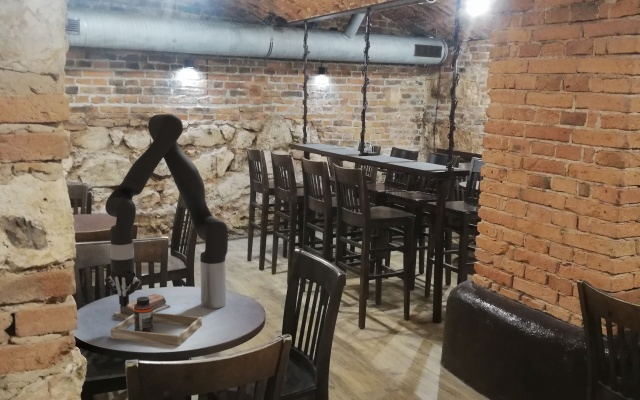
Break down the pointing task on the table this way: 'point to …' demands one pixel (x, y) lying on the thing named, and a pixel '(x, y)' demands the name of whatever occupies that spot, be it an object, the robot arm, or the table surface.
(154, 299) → the packaged product
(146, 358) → the table surface
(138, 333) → the wooden frame
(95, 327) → the table surface
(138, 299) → the supplement bottle
